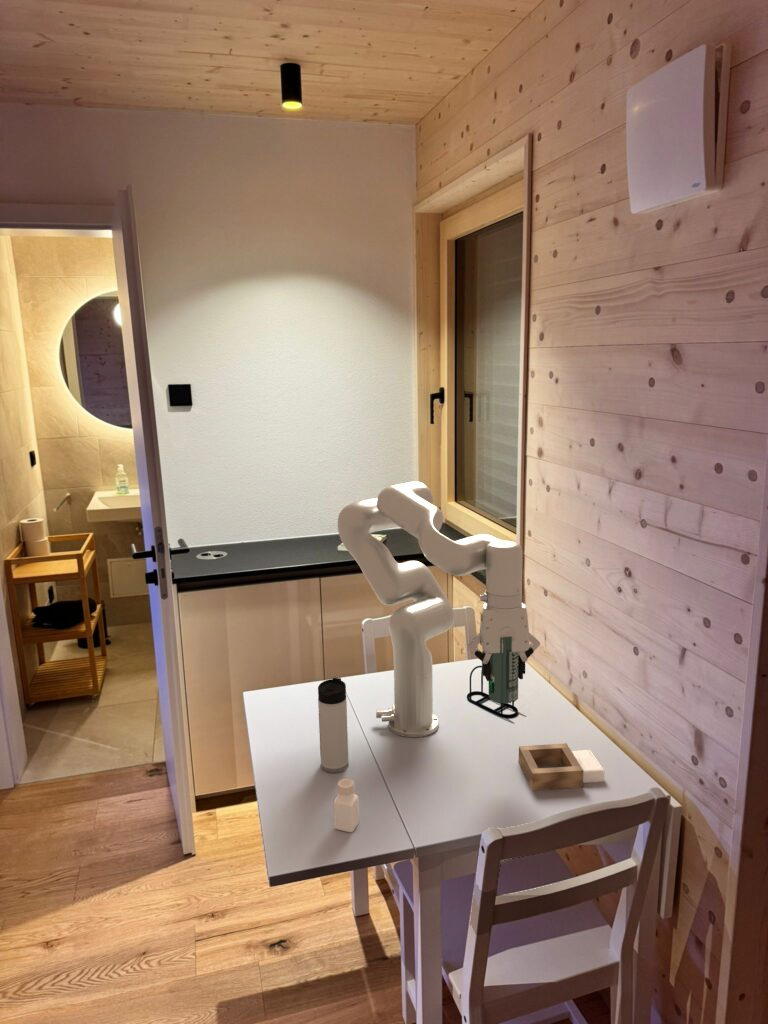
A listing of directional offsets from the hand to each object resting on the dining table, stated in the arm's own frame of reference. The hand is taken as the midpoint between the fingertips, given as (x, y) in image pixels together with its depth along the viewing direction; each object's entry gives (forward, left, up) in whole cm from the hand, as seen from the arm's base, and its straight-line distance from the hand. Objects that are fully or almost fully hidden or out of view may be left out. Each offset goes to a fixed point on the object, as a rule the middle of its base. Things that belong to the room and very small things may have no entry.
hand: (503, 676), depth 158 cm
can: (0, 0, -5) cm, 5 cm away
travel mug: (-37, +5, -22) cm, 44 cm away
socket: (+10, -4, -22) cm, 24 cm away
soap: (+18, -3, -22) cm, 29 cm away
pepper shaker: (-35, -17, -22) cm, 45 cm away
